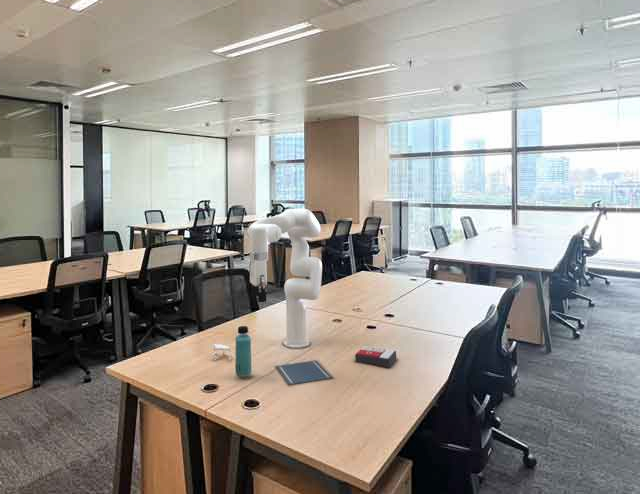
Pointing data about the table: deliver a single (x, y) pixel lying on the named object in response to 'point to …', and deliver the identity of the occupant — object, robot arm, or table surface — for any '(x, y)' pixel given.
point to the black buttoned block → (376, 356)
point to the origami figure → (221, 347)
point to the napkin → (303, 372)
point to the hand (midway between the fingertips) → (259, 299)
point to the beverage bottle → (243, 352)
